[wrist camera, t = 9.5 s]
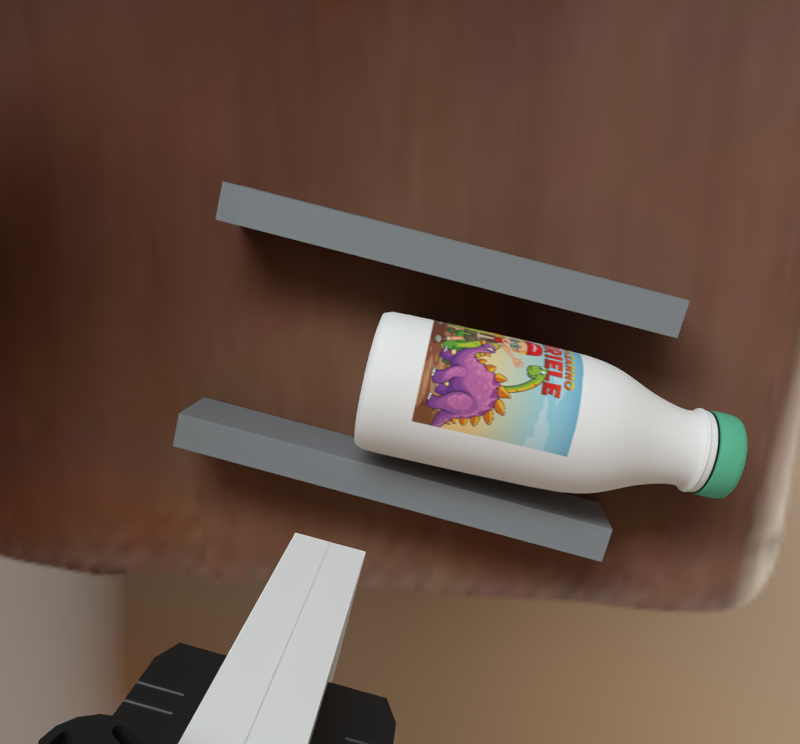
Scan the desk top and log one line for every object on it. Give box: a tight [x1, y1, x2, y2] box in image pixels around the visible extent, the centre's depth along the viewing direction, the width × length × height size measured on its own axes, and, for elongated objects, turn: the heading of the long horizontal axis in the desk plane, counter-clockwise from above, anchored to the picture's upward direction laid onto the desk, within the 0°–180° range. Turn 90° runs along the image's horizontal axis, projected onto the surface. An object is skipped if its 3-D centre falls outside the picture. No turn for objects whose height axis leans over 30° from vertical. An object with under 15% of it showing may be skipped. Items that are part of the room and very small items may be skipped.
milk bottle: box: [354, 312, 747, 498], centre depth 38 cm, size 8×8×20 cm
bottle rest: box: [173, 182, 690, 562], centre depth 40 cm, size 25×15×4 cm, turn 76°
